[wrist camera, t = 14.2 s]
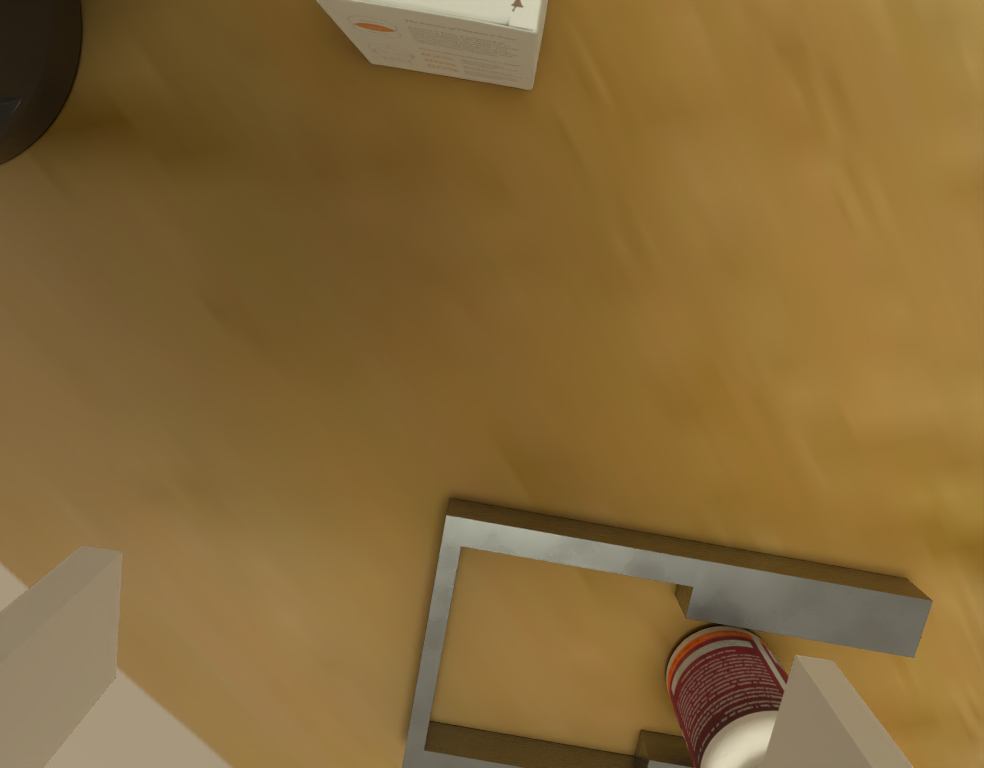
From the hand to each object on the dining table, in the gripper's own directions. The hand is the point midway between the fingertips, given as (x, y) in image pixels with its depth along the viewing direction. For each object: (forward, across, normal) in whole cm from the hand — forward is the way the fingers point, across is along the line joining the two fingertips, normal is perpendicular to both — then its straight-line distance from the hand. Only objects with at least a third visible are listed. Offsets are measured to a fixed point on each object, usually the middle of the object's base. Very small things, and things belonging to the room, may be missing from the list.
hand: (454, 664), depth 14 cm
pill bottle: (+23, +16, -14) cm, 32 cm away
